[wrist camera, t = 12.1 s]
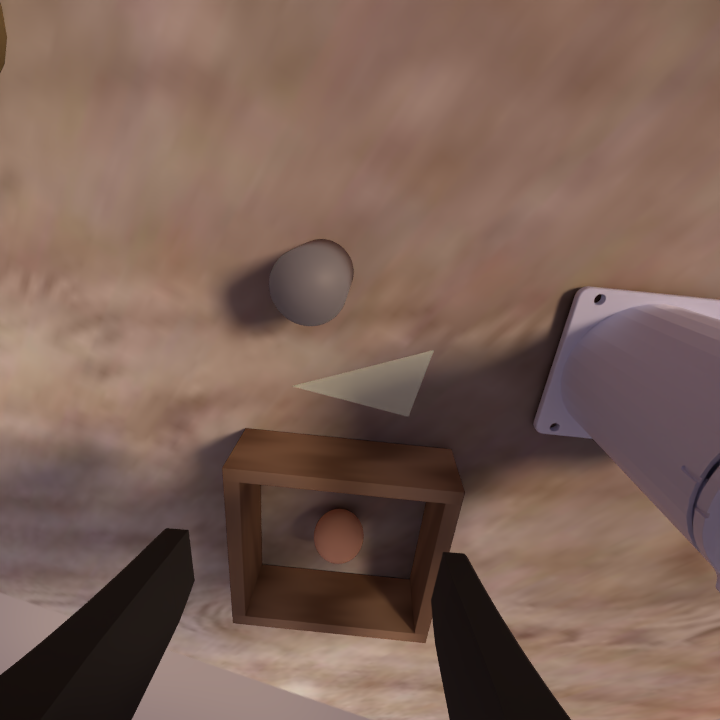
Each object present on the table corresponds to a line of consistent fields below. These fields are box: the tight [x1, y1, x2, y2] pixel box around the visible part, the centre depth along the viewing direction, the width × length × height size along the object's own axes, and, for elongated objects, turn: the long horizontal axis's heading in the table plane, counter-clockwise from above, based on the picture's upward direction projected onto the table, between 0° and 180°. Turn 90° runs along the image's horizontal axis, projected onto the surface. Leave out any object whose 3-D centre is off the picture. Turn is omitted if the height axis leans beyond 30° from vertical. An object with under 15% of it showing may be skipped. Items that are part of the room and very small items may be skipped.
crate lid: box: [269, 239, 434, 417], centre depth 16 cm, size 13×13×5 cm
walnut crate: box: [222, 428, 465, 643], centre depth 22 cm, size 12×12×4 cm
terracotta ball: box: [314, 509, 364, 564], centre depth 22 cm, size 3×3×3 cm
